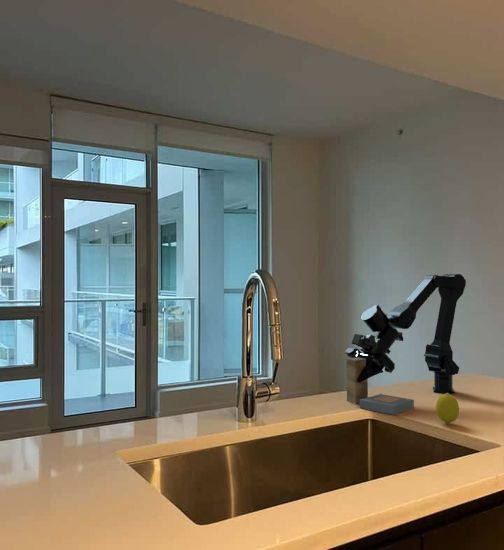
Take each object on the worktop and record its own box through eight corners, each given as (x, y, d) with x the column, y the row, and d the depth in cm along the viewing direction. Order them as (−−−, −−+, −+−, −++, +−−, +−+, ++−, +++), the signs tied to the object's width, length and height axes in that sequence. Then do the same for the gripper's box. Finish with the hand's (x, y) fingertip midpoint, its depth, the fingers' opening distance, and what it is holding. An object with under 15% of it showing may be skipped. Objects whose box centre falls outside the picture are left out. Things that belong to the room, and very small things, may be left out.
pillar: (359, 399, 161) (358, 357, 161) (367, 402, 157) (367, 359, 157) (346, 400, 159) (346, 358, 159) (355, 403, 155) (355, 360, 155)
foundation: (381, 401, 157) (381, 393, 157) (413, 408, 149) (413, 399, 149) (359, 407, 150) (359, 398, 150) (392, 414, 142) (392, 405, 142)
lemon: (462, 427, 129) (462, 395, 130) (440, 427, 130) (440, 395, 130) (454, 421, 135) (454, 390, 135) (433, 421, 135) (432, 390, 135)
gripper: (349, 322, 169) (321, 358, 164) (386, 326, 151) (355, 367, 147) (370, 345, 172) (342, 381, 167) (408, 352, 154) (378, 392, 150)
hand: (353, 380), depth 158 cm, fingers closed on pillar, 4 cm apart
